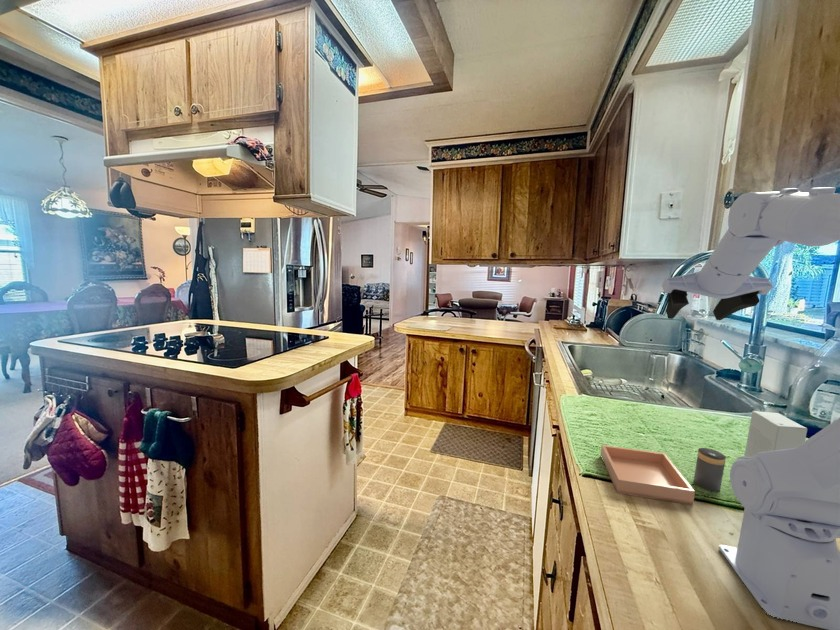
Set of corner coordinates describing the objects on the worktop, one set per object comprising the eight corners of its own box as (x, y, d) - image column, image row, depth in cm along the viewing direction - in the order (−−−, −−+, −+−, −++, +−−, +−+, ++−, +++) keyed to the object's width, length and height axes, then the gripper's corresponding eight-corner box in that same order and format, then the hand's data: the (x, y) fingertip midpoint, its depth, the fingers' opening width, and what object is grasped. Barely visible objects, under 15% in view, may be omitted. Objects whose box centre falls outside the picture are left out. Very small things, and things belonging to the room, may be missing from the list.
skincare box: (795, 494, 56) (809, 428, 54) (766, 490, 57) (778, 426, 55) (766, 471, 62) (778, 412, 60) (740, 469, 63) (750, 410, 61)
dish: (692, 505, 54) (695, 491, 53) (617, 492, 57) (618, 479, 56) (663, 464, 64) (664, 453, 64) (600, 456, 67) (601, 445, 67)
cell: (725, 493, 56) (731, 461, 55) (700, 489, 57) (705, 458, 56) (712, 479, 60) (718, 449, 59) (689, 476, 61) (694, 446, 60)
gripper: (777, 244, 52) (731, 299, 63) (671, 246, 56) (644, 298, 67) (799, 277, 48) (745, 330, 59) (682, 276, 52) (652, 326, 63)
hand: (692, 315), depth 62 cm, fingers open, 7 cm apart
